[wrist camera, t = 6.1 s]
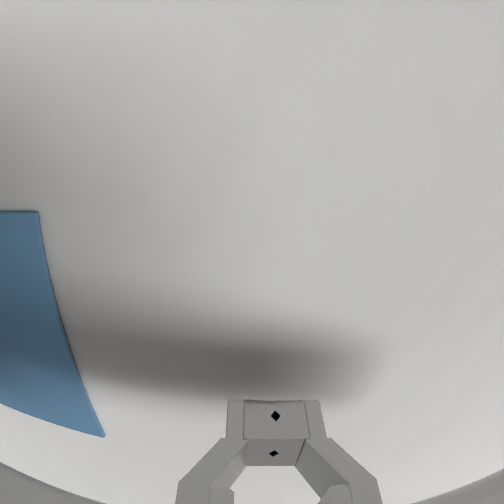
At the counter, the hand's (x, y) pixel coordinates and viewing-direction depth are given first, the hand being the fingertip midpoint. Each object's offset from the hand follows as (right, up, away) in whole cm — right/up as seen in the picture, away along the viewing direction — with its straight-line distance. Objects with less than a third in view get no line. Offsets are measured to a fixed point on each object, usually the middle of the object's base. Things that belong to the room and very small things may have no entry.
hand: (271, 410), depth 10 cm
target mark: (-14, +2, +1) cm, 14 cm away
